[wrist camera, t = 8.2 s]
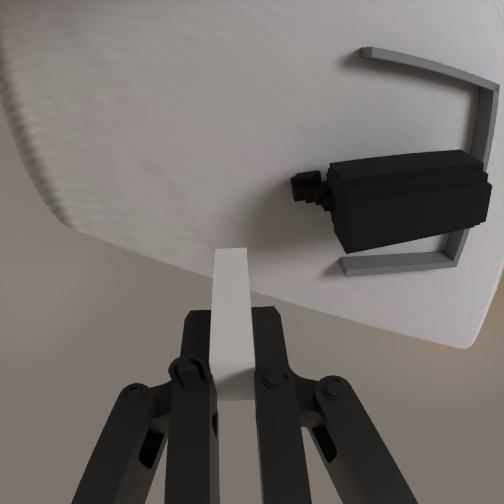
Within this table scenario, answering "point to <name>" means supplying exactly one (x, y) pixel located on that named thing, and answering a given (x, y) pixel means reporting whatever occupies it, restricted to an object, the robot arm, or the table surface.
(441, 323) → the table surface
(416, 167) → the security camera
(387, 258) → the grey u-shaped frame
